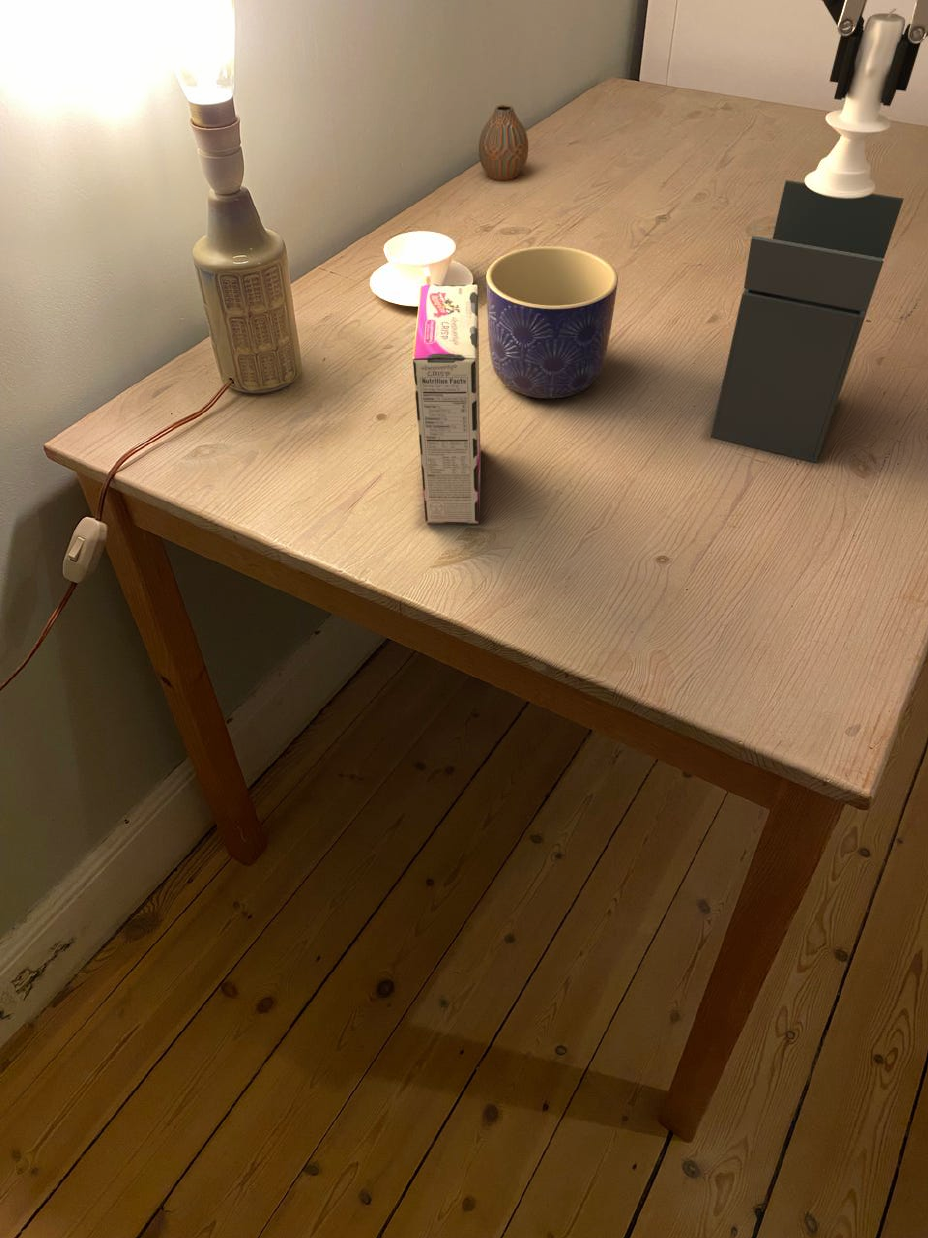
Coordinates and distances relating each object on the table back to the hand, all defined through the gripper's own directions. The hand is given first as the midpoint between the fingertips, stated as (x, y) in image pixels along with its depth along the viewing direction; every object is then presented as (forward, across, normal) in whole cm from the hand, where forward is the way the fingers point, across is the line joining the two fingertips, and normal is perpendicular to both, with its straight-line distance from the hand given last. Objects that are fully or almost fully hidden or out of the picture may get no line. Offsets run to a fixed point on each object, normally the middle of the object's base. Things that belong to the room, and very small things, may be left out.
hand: (865, 94), depth 67 cm
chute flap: (+11, 0, +6) cm, 12 cm away
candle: (+7, 0, 0) cm, 7 cm away
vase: (+29, +48, -44) cm, 71 cm away
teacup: (+29, +43, -9) cm, 53 cm away
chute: (+29, 0, 0) cm, 29 cm away
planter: (+29, +23, +2) cm, 37 cm away
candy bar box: (+29, +24, +22) cm, 43 cm away
